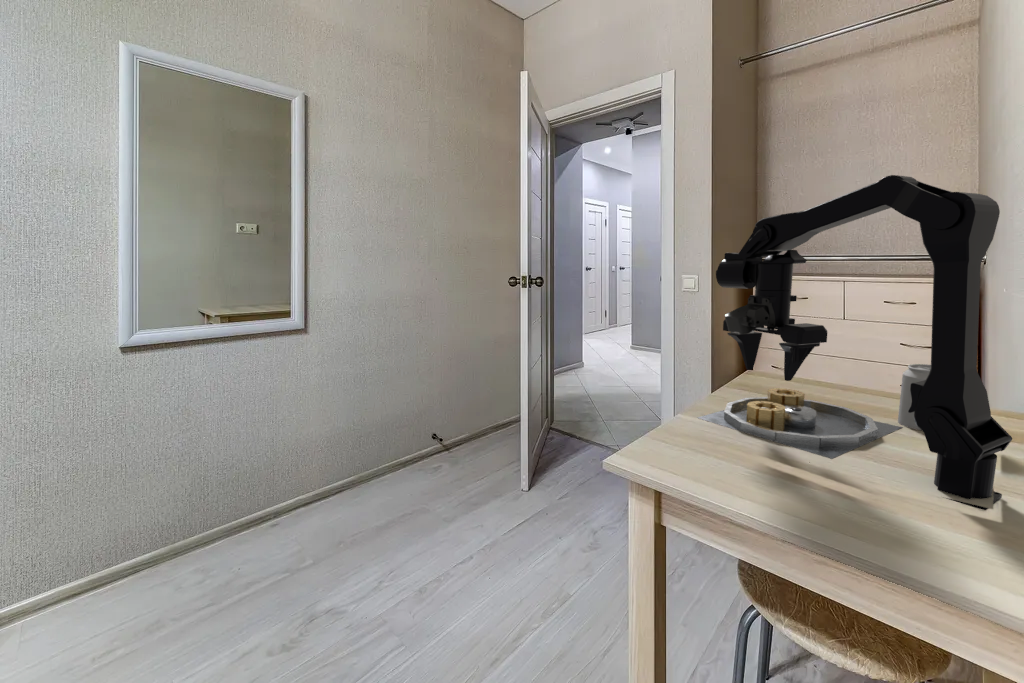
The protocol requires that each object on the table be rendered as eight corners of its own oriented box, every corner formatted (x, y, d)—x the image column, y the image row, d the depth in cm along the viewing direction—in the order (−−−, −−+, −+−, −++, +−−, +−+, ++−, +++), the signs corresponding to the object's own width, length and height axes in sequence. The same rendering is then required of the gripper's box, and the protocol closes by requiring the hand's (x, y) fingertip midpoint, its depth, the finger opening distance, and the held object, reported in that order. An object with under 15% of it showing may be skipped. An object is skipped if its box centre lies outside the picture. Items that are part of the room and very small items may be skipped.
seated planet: (791, 418, 95) (792, 398, 94) (761, 410, 100) (762, 391, 99) (808, 412, 98) (810, 393, 97) (778, 405, 103) (779, 386, 102)
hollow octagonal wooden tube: (792, 429, 88) (793, 408, 88) (763, 433, 87) (764, 412, 86) (766, 419, 94) (767, 399, 93) (739, 423, 93) (740, 402, 92)
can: (960, 438, 85) (969, 371, 83) (911, 436, 86) (919, 370, 84) (933, 424, 92) (940, 362, 90) (888, 422, 94) (894, 362, 92)
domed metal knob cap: (803, 430, 88) (804, 416, 87) (768, 421, 93) (769, 407, 93) (822, 423, 91) (823, 409, 91) (787, 414, 97) (788, 401, 96)
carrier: (831, 464, 75) (833, 437, 75) (696, 422, 97) (697, 400, 96) (902, 432, 88) (904, 408, 87) (769, 401, 109) (770, 382, 109)
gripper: (700, 289, 93) (697, 368, 96) (776, 294, 75) (770, 391, 78) (749, 287, 96) (745, 363, 99) (833, 291, 78) (825, 385, 81)
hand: (767, 374), depth 89 cm, fingers open, 9 cm apart
